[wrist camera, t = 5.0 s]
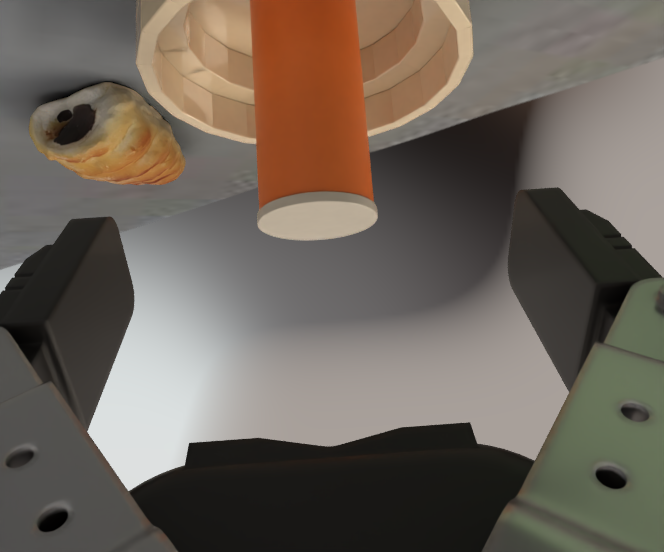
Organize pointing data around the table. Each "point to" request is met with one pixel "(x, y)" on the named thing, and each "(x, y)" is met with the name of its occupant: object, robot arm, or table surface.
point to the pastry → (108, 136)
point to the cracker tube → (310, 120)
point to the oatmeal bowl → (237, 64)
